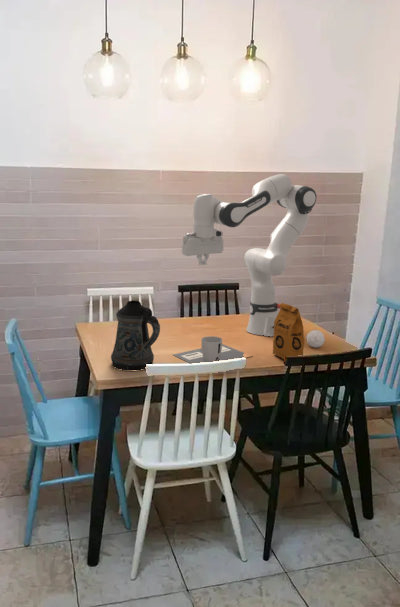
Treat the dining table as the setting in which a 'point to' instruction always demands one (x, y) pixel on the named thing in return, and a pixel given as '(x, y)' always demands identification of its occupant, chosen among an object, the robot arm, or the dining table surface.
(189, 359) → the label sheet
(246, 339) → the dining table surface
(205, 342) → the cup
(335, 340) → the dining table surface
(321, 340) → the geometric ball
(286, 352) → the coffee package
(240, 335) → the dining table surface
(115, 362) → the beer stein
